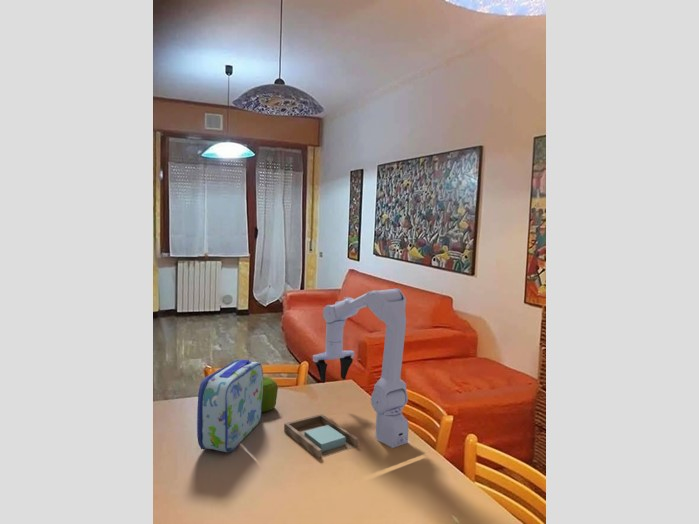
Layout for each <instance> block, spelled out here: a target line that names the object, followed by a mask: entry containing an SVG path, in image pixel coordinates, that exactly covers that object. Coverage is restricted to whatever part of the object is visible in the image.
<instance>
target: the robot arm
mask: <svg viewBox="0 0 699 524" xmlns="http://www.w3.org/2000/svg"><path fill="white" fill-rule="evenodd" d="M403 293H404V292H402V291H401V289H399V288H392V289H381V290H374V289H373V290H371V291H367V292H366V293H364V294H362V295H360V296H358V297H356V298H353V297H349V296H344V297H343V300H340V301H335V303H334V304H327V305H325V306H324V307H323V310H322V317H323V320H324V321H325V323H326V325H325V348H324V349H325V350H324V351H325V352H320V353H317V354H313V355H312V361H313V362H314V364H315V367H317V371H318V374H319V378H320V379H319V380H320V382H321V383H322V384H325V383H326V379H327V378H326V376H327V374H326V373H327V367H328V363H326V361H330V360H331V361H332V360H339V362H340V379H342V380H346V378H347V374H348V371H349V369H350V367H351V365H352V364H353V362H354V359H353V358H354V357H355V351H354V350H344V349H343V348H344V346H343V345H344V327H345V326H346V320H348V318H351V317H353V316H356V315H357V314H358V312H359V311H360V310H361V309H364V308H368V309H369V310H370V312H371V313H373V314H374V315H375V317H377V318H378V319H379V320H380V321H381V322H383V323H384V324H385V335H384V343H383V344H384V345H383V348H384V349H383V354H382V356H383V357H382V366H381V376H380V378H379V379H378V380H377V382H376V383H375V384H374V386H373V387H374V388H373V391H372V393H371V394H370V404H371V406H372V408H373V410H374V411H375V412H376V413H375V414H376V415H375V431H374V432H375V433H374V434H375V436H374V438H375V440H376V441H378V442H380V443H383V444H385V445H386V446H388V447H389V448H391V449H394V448H397V447H400V446H402V445H406V444H409V445H410V444H411V442H410V441H409V427H410V425H409V420H408V419H407V418H406V417H405V416H404V415H403V412H402V411H403V410H404V406H406V404H407V403H408V400H409V399H408V398H409V396H408V392H407V387H408V386H407V383H406V382H405V381H404V380H402V378H401V374H402V367H403V358H404V357H403V356H404V347H405V337H406V327H407V318H406V317H407V316H406V305H407V304H406V303H407V297H406V296H405V295H404V294H403Z"/></svg>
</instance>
